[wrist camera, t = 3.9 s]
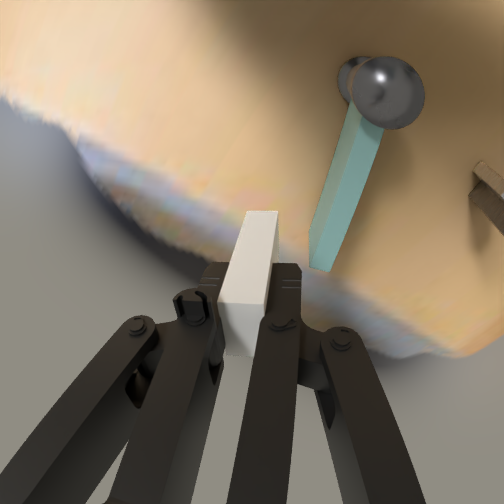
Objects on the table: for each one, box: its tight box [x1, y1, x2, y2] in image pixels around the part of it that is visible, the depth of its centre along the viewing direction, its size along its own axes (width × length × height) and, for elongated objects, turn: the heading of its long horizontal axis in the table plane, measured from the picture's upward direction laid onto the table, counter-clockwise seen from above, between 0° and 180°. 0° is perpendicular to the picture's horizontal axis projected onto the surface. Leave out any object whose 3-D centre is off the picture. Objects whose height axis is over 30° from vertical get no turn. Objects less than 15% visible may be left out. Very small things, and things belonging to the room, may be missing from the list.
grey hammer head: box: [338, 56, 425, 129], centre depth 17 cm, size 4×4×7 cm
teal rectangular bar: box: [309, 64, 384, 272], centre depth 20 cm, size 14×3×5 cm, turn 169°
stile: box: [468, 161, 504, 236], centre depth 19 cm, size 3×3×7 cm
